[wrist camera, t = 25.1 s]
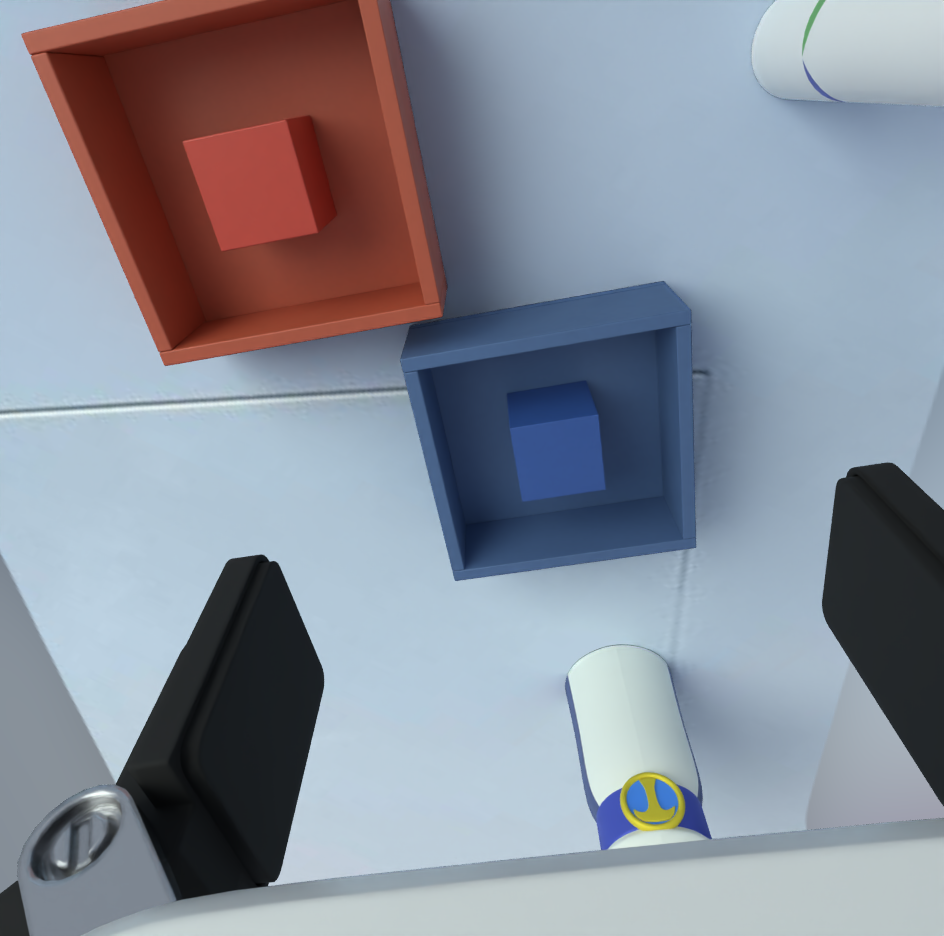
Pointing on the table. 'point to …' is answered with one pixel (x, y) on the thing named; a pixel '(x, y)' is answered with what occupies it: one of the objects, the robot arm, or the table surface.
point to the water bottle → (634, 749)
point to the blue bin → (620, 416)
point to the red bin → (235, 107)
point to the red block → (262, 182)
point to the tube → (852, 51)
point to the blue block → (556, 441)
